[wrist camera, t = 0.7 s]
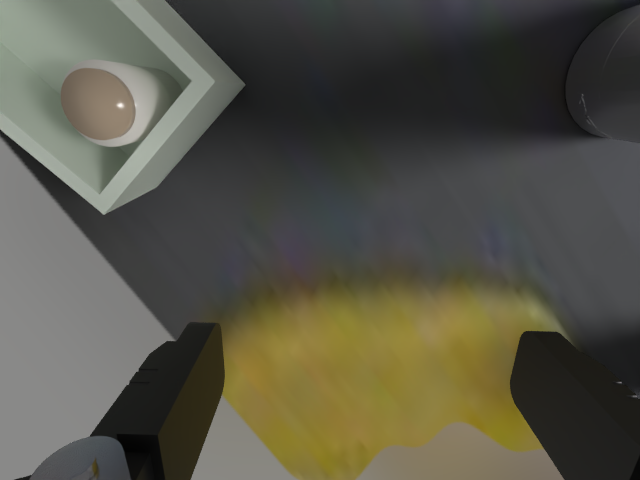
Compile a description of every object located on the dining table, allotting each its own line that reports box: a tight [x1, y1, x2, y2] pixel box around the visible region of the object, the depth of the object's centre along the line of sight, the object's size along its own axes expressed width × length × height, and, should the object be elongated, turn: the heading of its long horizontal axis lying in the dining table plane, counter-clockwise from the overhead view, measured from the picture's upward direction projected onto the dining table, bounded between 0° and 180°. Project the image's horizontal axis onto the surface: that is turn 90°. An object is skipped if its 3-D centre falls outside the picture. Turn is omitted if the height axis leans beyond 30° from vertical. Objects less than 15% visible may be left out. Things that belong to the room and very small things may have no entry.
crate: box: [0, 0, 246, 215], centre depth 24 cm, size 12×20×8 cm, turn 44°
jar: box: [61, 59, 183, 147], centre depth 25 cm, size 5×5×8 cm
